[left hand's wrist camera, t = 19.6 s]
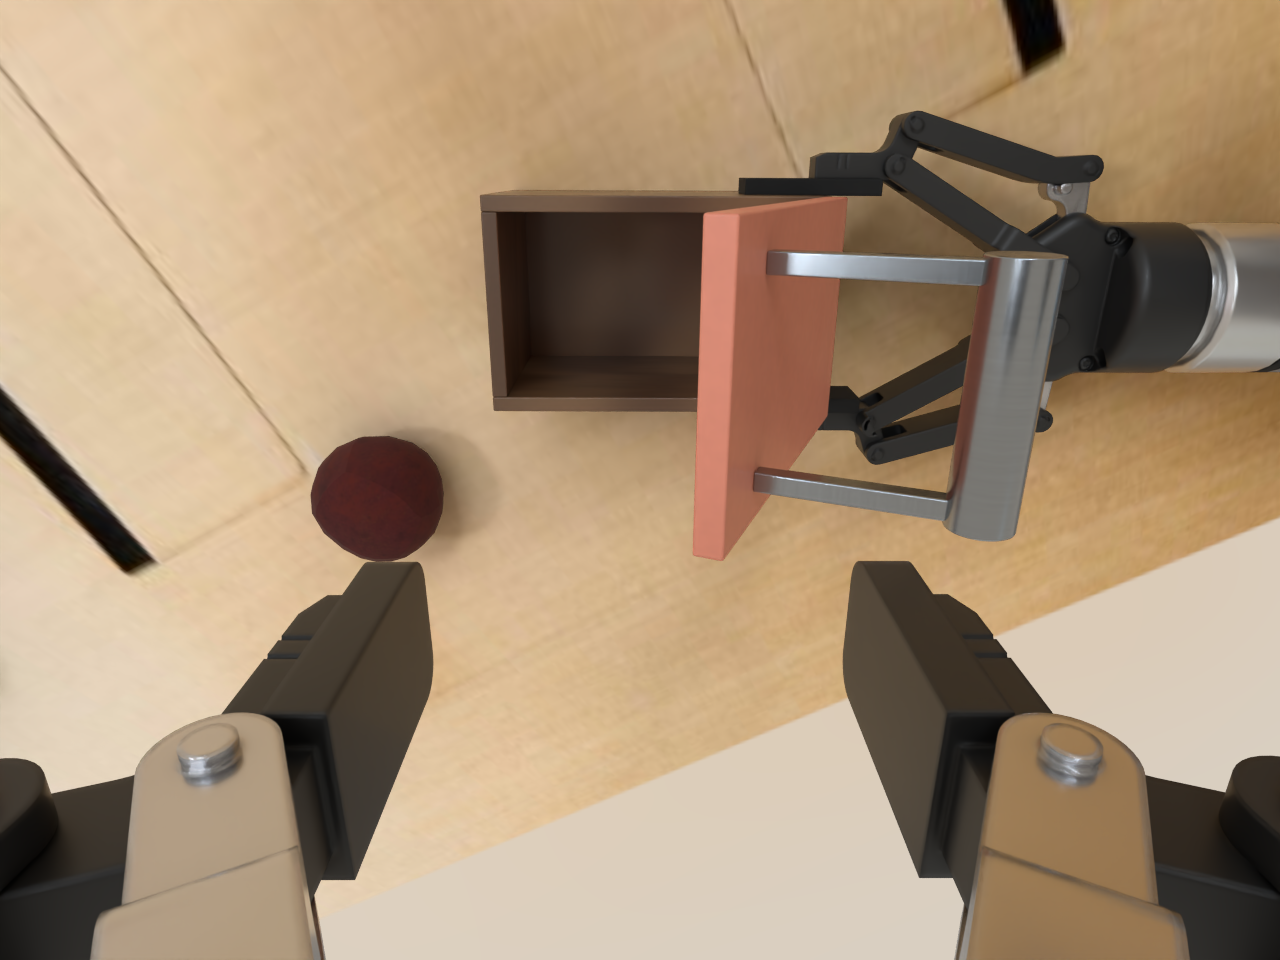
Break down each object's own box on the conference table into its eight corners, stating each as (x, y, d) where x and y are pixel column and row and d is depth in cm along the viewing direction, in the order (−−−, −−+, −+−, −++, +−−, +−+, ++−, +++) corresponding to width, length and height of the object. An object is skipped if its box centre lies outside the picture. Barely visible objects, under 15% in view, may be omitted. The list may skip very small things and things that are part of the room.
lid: (691, 556, 24) (1010, 616, 21) (702, 212, 21) (1089, 221, 18) (806, 414, 39) (1007, 437, 36) (825, 196, 35) (1049, 200, 32)
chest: (521, 364, 49) (493, 411, 39) (512, 190, 45) (479, 195, 36) (780, 365, 49) (814, 412, 39) (792, 191, 45) (833, 196, 36)
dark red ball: (422, 548, 53) (391, 602, 46) (316, 488, 52) (269, 534, 45) (477, 463, 51) (453, 506, 44) (368, 397, 49) (327, 431, 43)
